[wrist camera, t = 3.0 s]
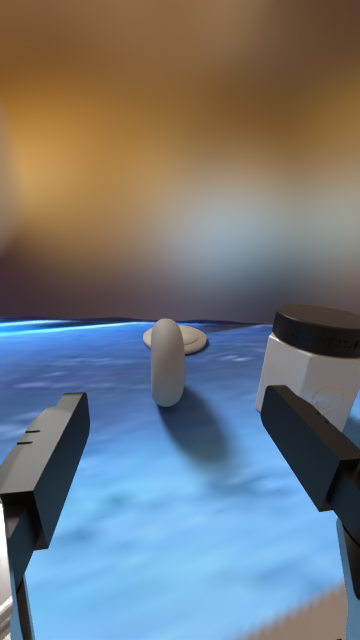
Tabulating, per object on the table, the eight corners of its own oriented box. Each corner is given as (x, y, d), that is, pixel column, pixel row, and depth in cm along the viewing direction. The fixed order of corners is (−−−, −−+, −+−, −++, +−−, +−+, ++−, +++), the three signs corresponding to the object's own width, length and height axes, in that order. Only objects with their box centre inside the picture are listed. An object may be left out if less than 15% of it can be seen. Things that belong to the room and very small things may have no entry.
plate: (198, 328, 48) (198, 323, 48) (214, 353, 36) (214, 347, 35) (144, 328, 46) (144, 323, 46) (141, 355, 34) (141, 349, 34)
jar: (264, 439, 19) (291, 324, 16) (247, 387, 27) (262, 302, 23) (363, 452, 18) (417, 334, 15) (316, 394, 26) (344, 307, 22)
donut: (185, 427, 20) (191, 339, 17) (152, 431, 20) (151, 340, 17) (173, 372, 30) (175, 308, 26) (150, 373, 29) (150, 308, 26)
